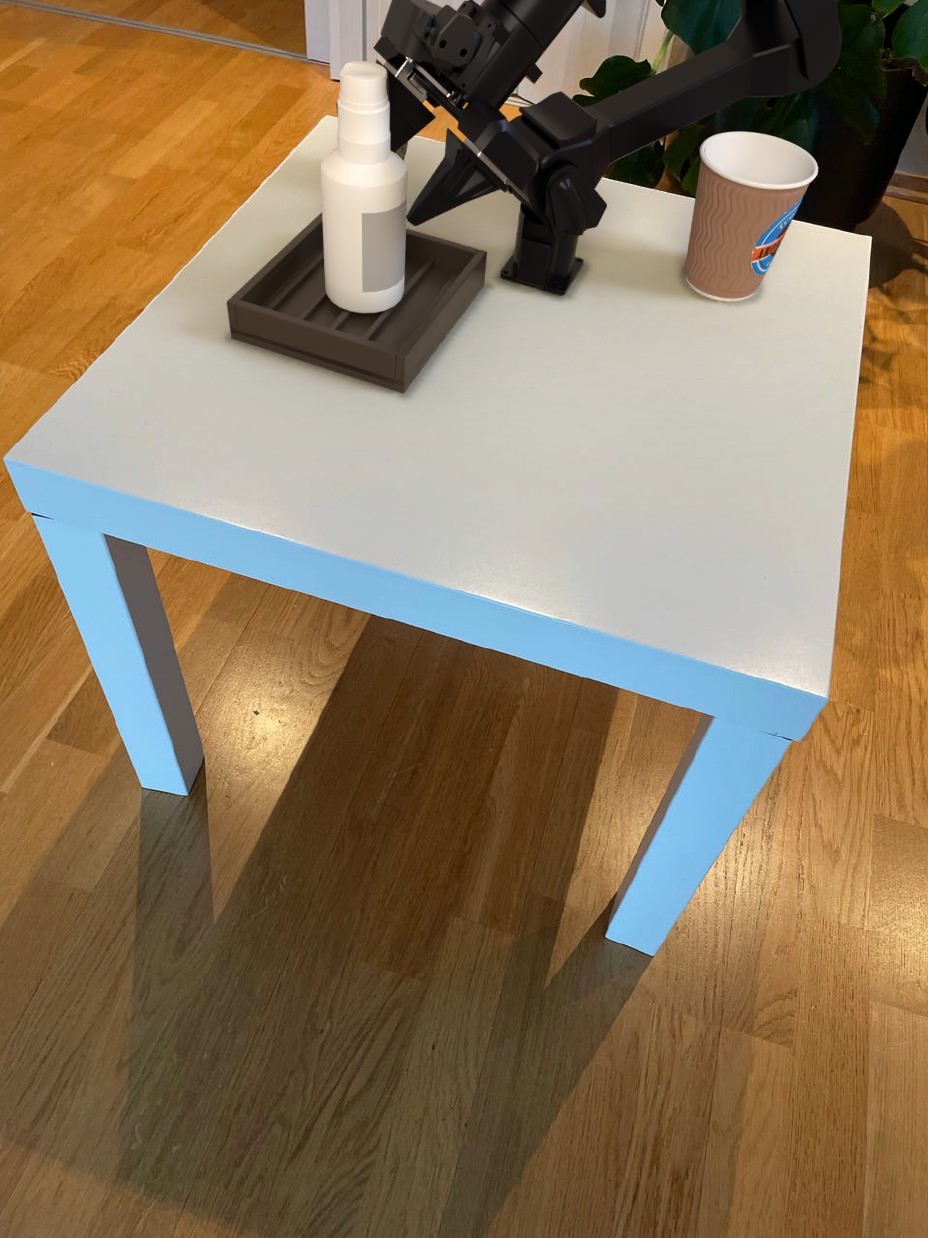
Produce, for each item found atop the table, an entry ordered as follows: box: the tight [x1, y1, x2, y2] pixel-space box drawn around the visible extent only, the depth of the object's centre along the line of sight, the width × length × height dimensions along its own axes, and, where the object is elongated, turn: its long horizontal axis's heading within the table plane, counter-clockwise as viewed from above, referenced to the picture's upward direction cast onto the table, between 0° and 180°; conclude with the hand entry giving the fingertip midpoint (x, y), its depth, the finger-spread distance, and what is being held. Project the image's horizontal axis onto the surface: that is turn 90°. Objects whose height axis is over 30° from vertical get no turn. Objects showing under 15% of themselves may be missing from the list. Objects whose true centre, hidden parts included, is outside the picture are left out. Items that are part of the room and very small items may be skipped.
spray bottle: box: [319, 60, 409, 313], centre depth 75 cm, size 7×7×18 cm
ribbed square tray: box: [226, 211, 488, 394], centre depth 82 cm, size 18×16×4 cm
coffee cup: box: [685, 131, 819, 303], centre depth 87 cm, size 10×10×12 cm
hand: (385, 194), depth 76 cm, fingers open, 9 cm apart
